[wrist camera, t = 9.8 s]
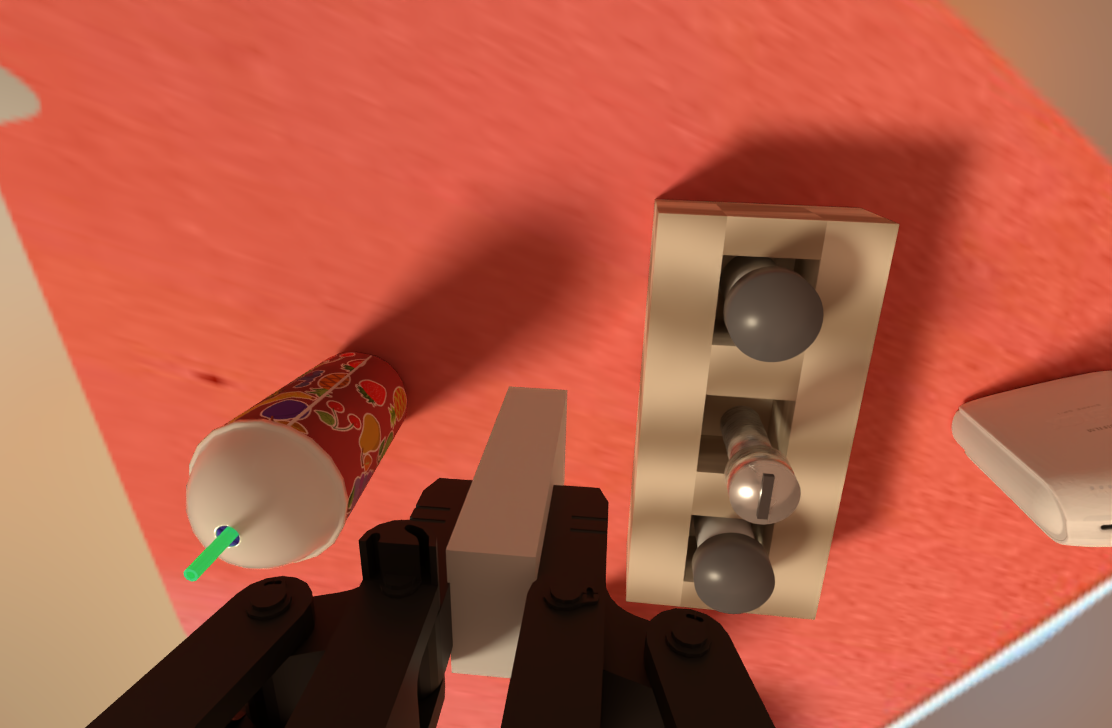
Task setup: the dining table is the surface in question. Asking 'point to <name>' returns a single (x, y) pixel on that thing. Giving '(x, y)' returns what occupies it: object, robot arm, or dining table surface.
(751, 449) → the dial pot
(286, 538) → the smoothie
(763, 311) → the knob
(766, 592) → the knob
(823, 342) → the tan rectangular block
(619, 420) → the dining table surface
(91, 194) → the dining table surface
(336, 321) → the dining table surface
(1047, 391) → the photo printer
